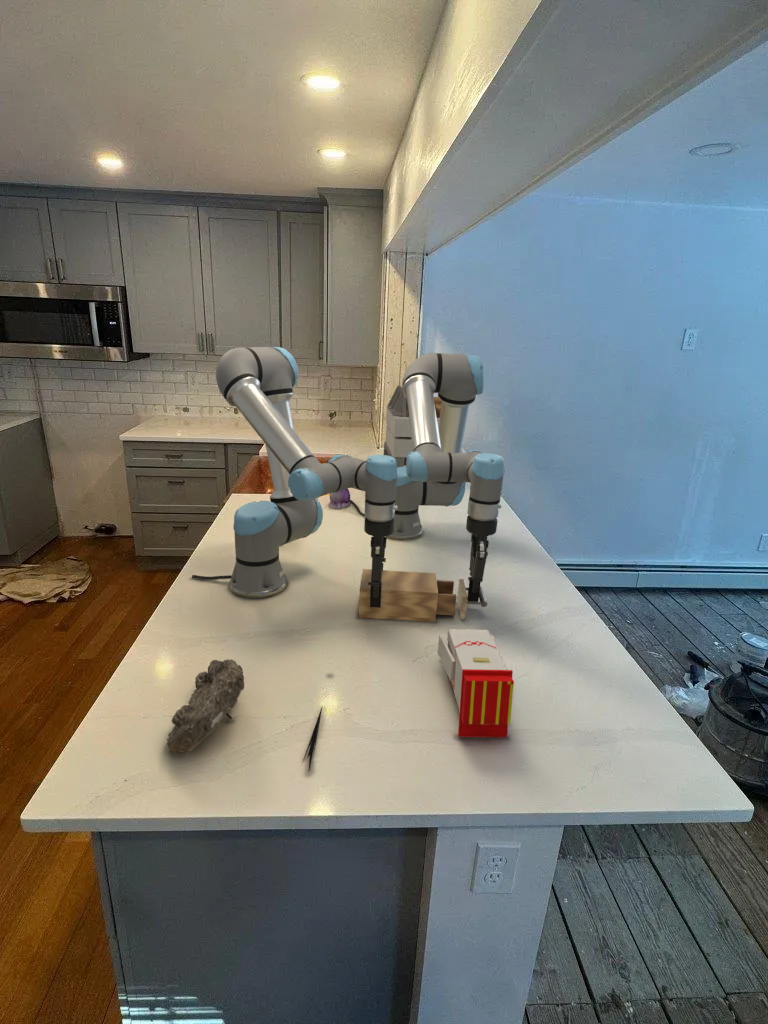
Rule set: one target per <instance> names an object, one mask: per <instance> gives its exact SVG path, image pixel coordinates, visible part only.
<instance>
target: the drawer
mask: <svg viewBox="0 0 768 1024" xmlns="http://www.w3.org/2000/svg"><path fill="white" fill-rule="evenodd" d="M436 580H437V588H438V600H437V611H436V615H441V616H455V615H456V614H455V613H456V606H458V613H459V619H461V620H466V616H467V615H466V614H467V607H468V605H475V606H477V605H478V606H480V607H482V608H486V607H487V606H488V601H487V599H486V598H487V597H486V594H485V591H484V587H483V586H481V585H480V592H479V600H478V602H474V601H468V600H467V597H468V588H469V587H466V584H465V579H464V578H459V580H458V587H457V593H454V587H455V581H454V580H441V579H436ZM456 603H457V605H456Z"/></svg>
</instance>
